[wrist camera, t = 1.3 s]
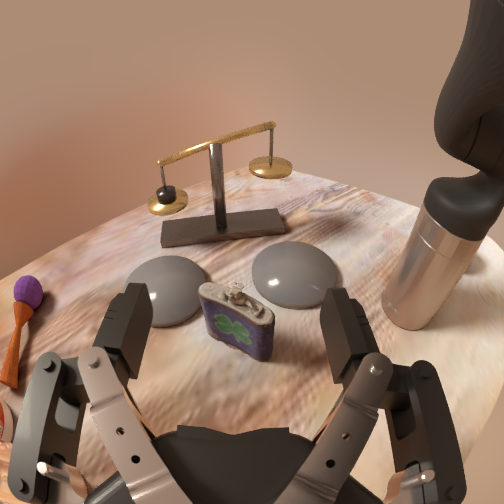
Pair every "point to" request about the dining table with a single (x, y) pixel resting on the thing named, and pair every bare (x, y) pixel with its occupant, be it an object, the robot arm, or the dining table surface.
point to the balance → (219, 198)
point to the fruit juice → (5, 422)
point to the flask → (238, 320)
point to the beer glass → (0, 465)
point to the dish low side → (170, 288)
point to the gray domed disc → (293, 275)
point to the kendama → (20, 324)
